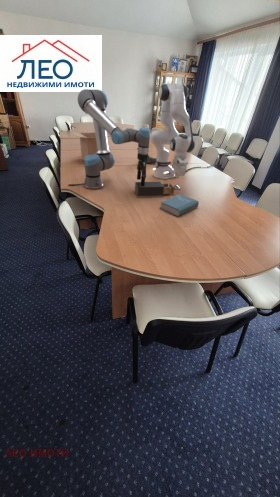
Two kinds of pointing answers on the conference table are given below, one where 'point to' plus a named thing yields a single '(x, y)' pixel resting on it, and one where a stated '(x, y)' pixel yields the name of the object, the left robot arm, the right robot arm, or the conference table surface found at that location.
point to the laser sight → (150, 160)
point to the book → (179, 204)
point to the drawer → (169, 188)
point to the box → (87, 142)
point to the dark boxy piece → (149, 189)
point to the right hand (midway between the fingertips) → (176, 177)
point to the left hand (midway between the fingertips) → (140, 182)
